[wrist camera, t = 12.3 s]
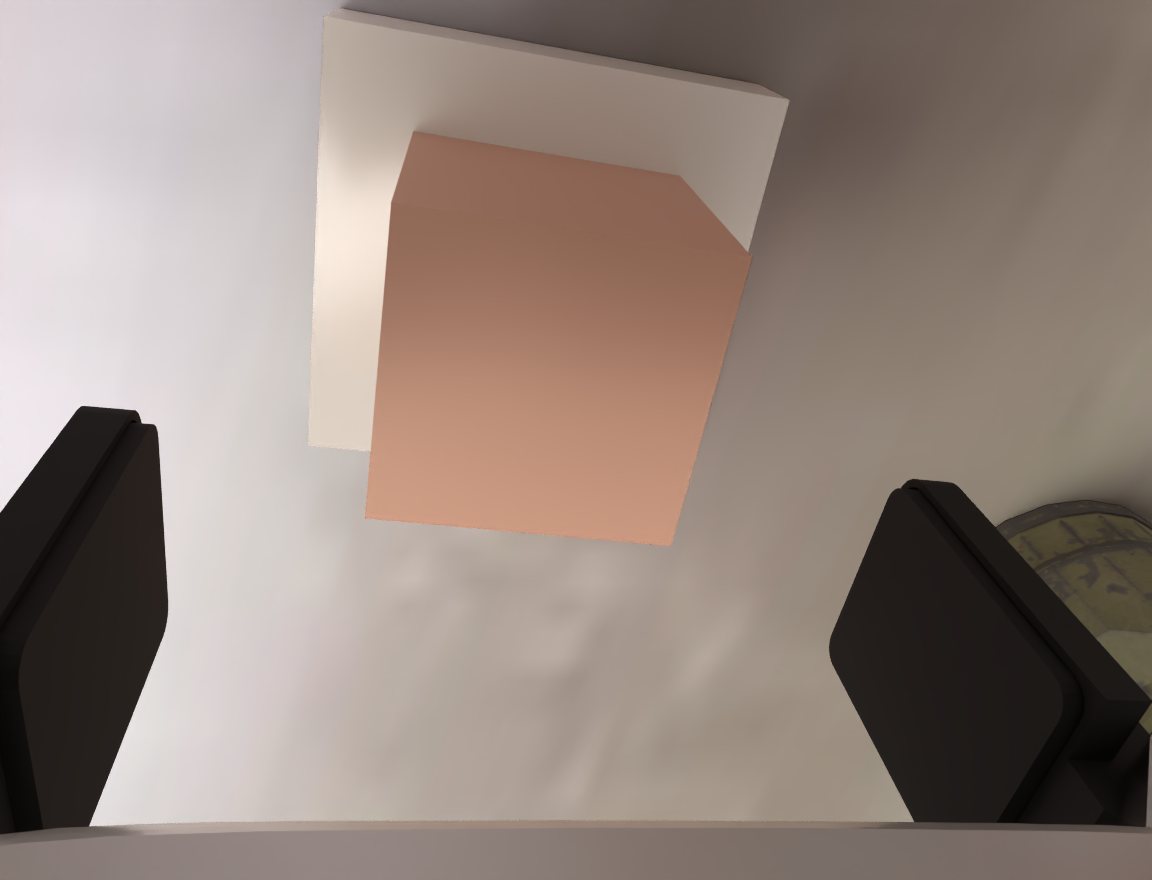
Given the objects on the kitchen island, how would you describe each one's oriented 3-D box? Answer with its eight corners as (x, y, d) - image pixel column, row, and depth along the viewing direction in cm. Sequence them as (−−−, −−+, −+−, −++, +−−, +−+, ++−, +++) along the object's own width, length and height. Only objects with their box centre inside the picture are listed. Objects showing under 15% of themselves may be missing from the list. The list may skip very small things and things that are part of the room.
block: (339, 8, 20) (323, 16, 18) (757, 84, 22) (789, 99, 20) (322, 401, 25) (307, 445, 23) (667, 437, 26) (684, 482, 24)
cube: (413, 131, 19) (390, 202, 14) (680, 175, 20) (752, 257, 15) (390, 380, 22) (365, 518, 17) (626, 408, 23) (670, 545, 18)
